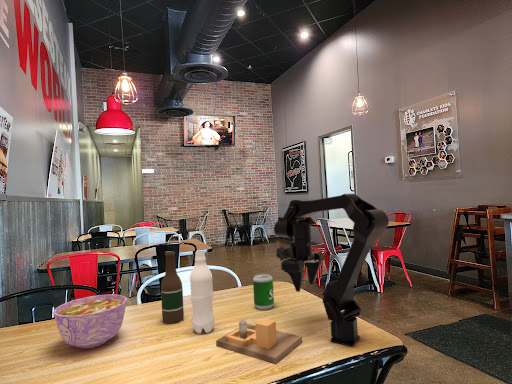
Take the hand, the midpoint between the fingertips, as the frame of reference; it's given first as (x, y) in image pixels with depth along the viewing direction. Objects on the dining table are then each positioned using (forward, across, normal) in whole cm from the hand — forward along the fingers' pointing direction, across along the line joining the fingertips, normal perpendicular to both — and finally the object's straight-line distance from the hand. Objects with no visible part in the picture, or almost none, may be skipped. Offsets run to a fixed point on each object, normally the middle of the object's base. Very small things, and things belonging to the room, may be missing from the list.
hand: (304, 287), depth 102 cm
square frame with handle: (+10, +20, -7) cm, 24 cm away
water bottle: (+12, +19, -27) cm, 35 cm away
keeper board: (+12, +18, -6) cm, 22 cm away
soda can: (+12, -8, -22) cm, 26 cm away
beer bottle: (+12, +18, -43) cm, 48 cm away
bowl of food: (+12, +42, -51) cm, 67 cm away
